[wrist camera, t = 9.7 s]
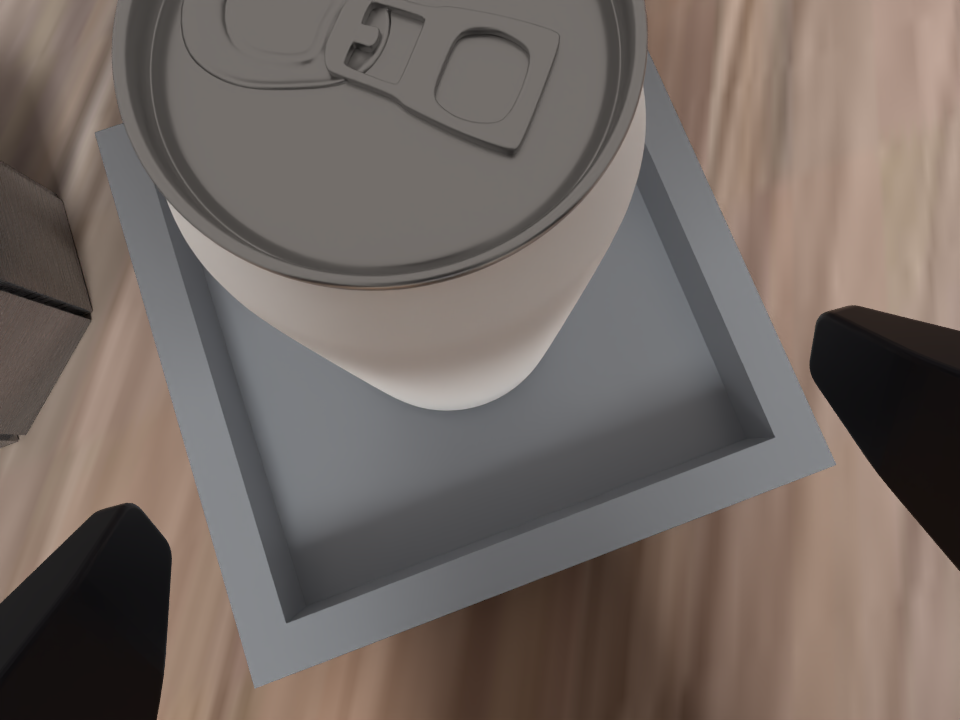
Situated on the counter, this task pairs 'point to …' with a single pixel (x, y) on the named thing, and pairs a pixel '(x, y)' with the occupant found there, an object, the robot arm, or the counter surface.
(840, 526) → the counter surface
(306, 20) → the can
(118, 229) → the counter surface
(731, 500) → the tray
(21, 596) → the robot arm
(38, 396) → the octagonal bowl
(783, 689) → the counter surface
